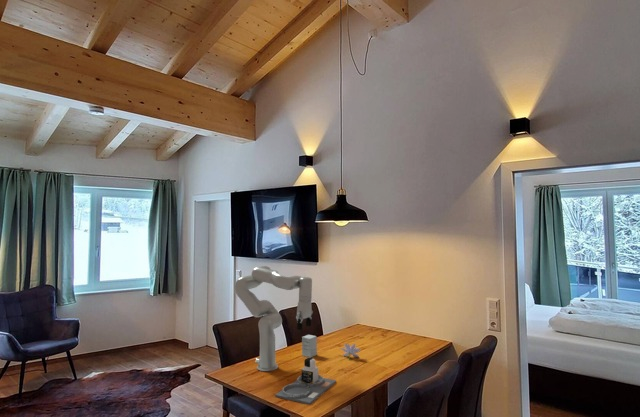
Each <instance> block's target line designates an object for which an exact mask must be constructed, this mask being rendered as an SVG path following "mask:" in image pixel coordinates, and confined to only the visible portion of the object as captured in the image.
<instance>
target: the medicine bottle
mask: <svg viewBox="0 0 640 417" xmlns="http://www.w3.org/2000/svg"><path fill="white" fill-rule="evenodd" d="M303 363H304V365H303V366H304V367H303V368H301V374H300V376H301V382H302V383H307V384H310V383H315V382H316V381H318V375H319V367H318V366H316V359H315V358H313V357H311V358H309V357H306V358H305V359H304V361H303Z"/></svg>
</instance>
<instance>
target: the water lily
mask: <svg viewBox="0 0 640 417" xmlns="http://www.w3.org/2000/svg"><path fill="white" fill-rule="evenodd" d="M340 349H341V350H342V351H343V352H345V353H344V354H342V356H343V357H347V356H348V360H349V361H350V360H351V356H353V357H354V358H359V357H360V356H359V354H356V353H359V352H360V351H361V348H358V347H356V343H354V344H352V345H350V344H347V343H344V348H343V347H340Z"/></svg>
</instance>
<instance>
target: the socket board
mask: <svg viewBox="0 0 640 417" xmlns="http://www.w3.org/2000/svg"><path fill="white" fill-rule="evenodd" d="M299 381H300V382H301V379H300V380H299ZM320 381H321V379H319V378H318V381H316V382H315V383H317V382H320ZM293 383H297V379H296V380H294V381H293V382H291V383H290V384H293ZM336 383H337V380H336V379H331V378H326V377H323V383H322V384H321V385H319V386H315V387H310V394H309V395H307V396H305V397H302V398H290V397H286V396H285V395H283V389H281V390H280V391H278V392H277V393H276V394H274V396H275V398H280V399H283V400H288V401H293V402H297V403H301V404H304V405H305V404H306V405H312V404H313V403H314V402H315V401H316V400H318V398H319V397H321V396H322V395H323V394H324V393H325V392H327V391H328V390H329V389H330V388H331V387H332V386H334V385H335V384H336ZM284 391H285V392H286V393H289V394H303V393H306V392H307V391H309V390H308V389H307V388H304V387H291V388H287V389H286V390H284Z"/></svg>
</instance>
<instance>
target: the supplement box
mask: <svg viewBox="0 0 640 417" xmlns="http://www.w3.org/2000/svg"><path fill="white" fill-rule="evenodd" d="M301 338H302V339H301V355H302V357H306V358H313V357H315V356H317V355H318V345H317V344H318V340H317V338H318V337H317V336H316V335H312V334H306V335H304V336H301Z"/></svg>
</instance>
